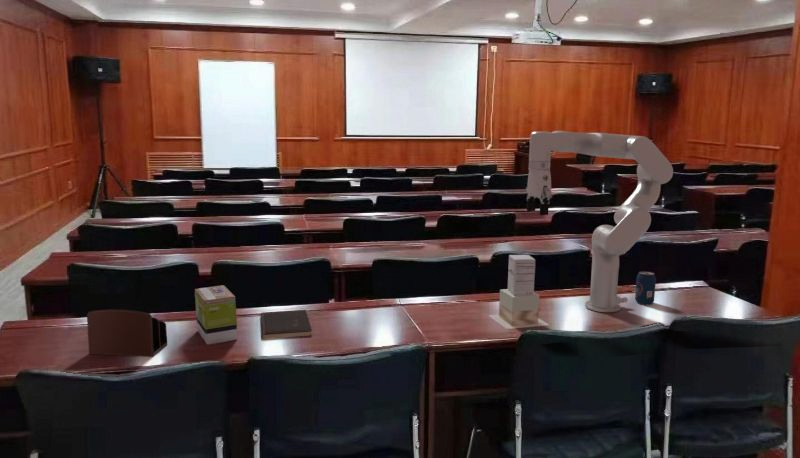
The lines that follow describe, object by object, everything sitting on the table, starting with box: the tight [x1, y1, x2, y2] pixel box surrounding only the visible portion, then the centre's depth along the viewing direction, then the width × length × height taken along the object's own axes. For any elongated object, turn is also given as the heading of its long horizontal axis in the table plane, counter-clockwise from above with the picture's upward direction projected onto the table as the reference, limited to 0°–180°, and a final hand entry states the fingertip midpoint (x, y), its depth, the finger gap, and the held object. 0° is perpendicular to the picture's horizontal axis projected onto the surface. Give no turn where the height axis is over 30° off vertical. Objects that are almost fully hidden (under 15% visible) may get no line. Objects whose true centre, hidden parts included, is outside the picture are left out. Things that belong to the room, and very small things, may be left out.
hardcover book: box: [260, 309, 313, 340], centre depth 210 cm, size 16×23×2 cm
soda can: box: [634, 270, 657, 305], centre depth 239 cm, size 7×7×12 cm
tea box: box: [194, 284, 238, 345], centre depth 199 cm, size 15×10×15 cm
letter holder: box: [86, 309, 168, 358], centre depth 186 cm, size 10×20×14 cm, turn 86°
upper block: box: [499, 288, 540, 312], centre depth 214 cm, size 10×10×5 cm
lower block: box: [498, 303, 540, 326], centre depth 214 cm, size 10×10×5 cm
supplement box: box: [507, 254, 536, 295], centre depth 212 cm, size 7×7×13 cm
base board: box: [488, 314, 550, 330], centre depth 215 cm, size 16×15×1 cm
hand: (537, 212), depth 226 cm, fingers open, 9 cm apart
